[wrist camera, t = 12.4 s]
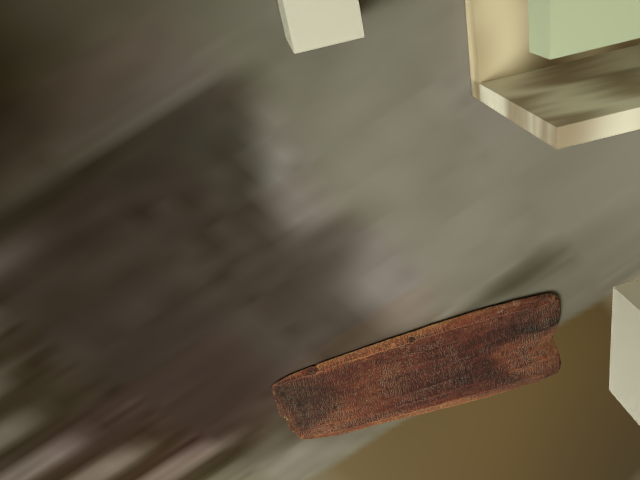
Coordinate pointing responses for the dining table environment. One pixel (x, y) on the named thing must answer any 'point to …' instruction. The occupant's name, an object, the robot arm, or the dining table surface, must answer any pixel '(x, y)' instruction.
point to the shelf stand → (550, 79)
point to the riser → (320, 22)
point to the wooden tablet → (425, 369)
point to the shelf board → (580, 25)
